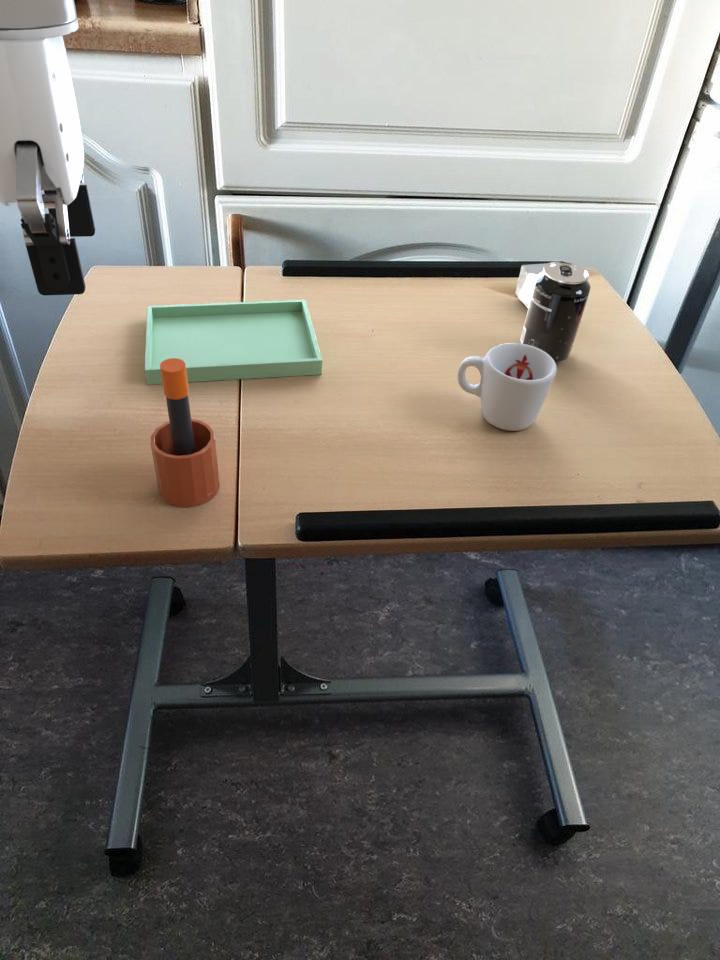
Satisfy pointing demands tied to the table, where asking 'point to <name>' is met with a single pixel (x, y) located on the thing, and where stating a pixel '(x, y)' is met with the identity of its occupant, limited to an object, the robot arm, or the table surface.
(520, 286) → the small box
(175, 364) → the marker
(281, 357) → the tray
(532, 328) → the beverage can
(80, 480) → the table surface
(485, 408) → the cup
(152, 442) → the pen cup
